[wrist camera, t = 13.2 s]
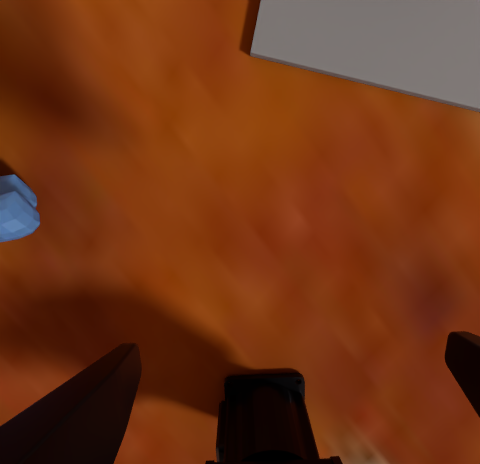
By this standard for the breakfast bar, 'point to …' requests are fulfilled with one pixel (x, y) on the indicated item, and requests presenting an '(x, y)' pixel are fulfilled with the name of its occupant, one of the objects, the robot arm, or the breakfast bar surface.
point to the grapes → (17, 209)
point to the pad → (379, 43)
